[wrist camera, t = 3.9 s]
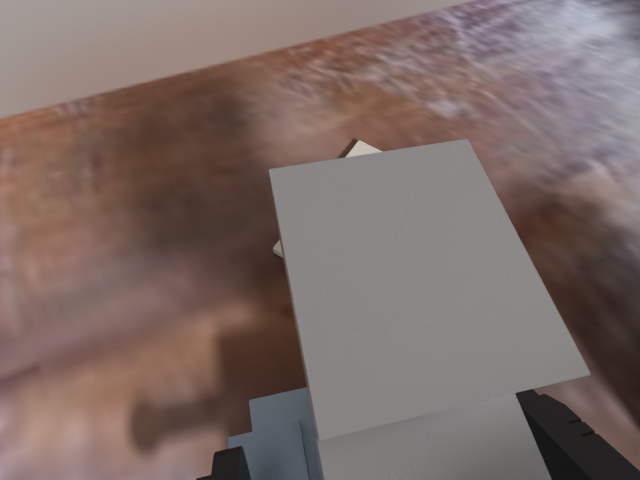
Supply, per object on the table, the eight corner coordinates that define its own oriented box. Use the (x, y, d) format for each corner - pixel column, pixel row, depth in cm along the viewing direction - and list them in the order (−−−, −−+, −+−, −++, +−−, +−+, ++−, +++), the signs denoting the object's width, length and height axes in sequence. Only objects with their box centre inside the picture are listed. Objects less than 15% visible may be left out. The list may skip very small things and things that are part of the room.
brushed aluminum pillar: (406, 507, 16) (818, 806, 3) (329, 527, 16) (421, 978, 3) (362, 338, 20) (467, 138, 6) (297, 352, 19) (268, 169, 6)
